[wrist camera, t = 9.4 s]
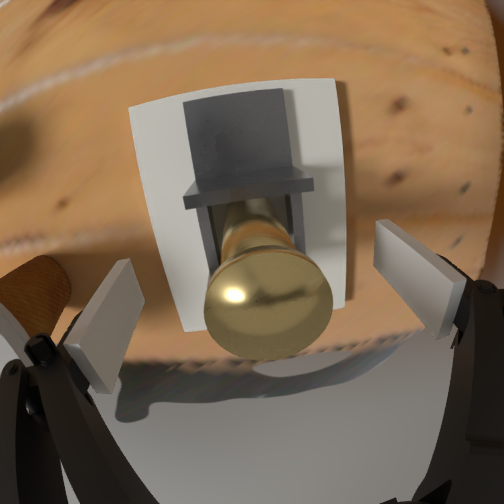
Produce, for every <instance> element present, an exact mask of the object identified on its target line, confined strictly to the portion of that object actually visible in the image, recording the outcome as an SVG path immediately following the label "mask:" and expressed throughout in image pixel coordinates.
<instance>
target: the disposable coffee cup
mask: <svg viewBox="0 0 504 504" xmlns="http://www.w3.org/2000/svg"><path fill="white" fill-rule="evenodd" d="M70 295H71V287H70V283H69V280H68V277H67V275H66V273H65V272H64V270H63V269H62V268H61V267H60V266H59V264H58V263H56V262H55V261H54V260H52V259H51V258H49V257H46V256H37V257H35V258H33V259H32V260H30V261H28V262H26V263H25V264H23V265H21V266H20V267H18V268H16V269H14V270H13V271H11V272H10V273H8V274H7V275H5V276H3V277H2V278H0V377H1V372H2V370H3V368H4V366H5V364H6V363H8V362H9V361H11V360H13V359H20V360H21V361H22V362H23V364H24V365H25V367H29V366H33V363H32V362H31V360H30V359H29V357H28V356H27V355H26V353H25V352H24V346H25V344H26V343H27V341H28V340H29V339H30V338H31V337H33V336H34V335H36V334H39V333H43V332H45V333H48V334H49V336H51V334H52V332H53V330H54V328H55V326H56V324H57V322H58V320H59V317H60V316H61V313H62V312H63V310H64V308H65V306H66V304H67V302H68V301H69V298H70Z"/></svg>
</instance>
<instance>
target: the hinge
mask: <svg viewBox="0 0 504 504" xmlns="http://www.w3.org/2000/svg"><path fill="white" fill-rule="evenodd" d="M183 108H184V115H185V121H186V128H187V134H188V140H189V146H190V152H191V157H192V163H193V169H194V174H195V181H194V182H193V183H192V185H191V186H190V187H189V189H188V190H187V191H186V193H185V194H184V195H183V201H184V206H185V210H189V209H194V208H196V212H197V217H198V222H199V227H200V232H201V236H202V241H203V246H204V250H205V255H206V259H207V264H208V268H209V276H208V283H209V281H210V279H211V277H212V276H213V274H214V273H215V271H216V270H217V269H218V268H219V267H220V265H221V255H220V250H219V245H218V240H217V235H216V229H215V224H214V219H213V214H212V208H211V206H212V205H218V204H224V203H230V202H237V201H243V200H250V199H257V198H264V197H271V196H279V195H285V202H286V212H287V222H288V233H289V237H290V238H291V240H292V242H293V244H294V246H295V248H296V250H298V251H300V252H302V253H304V254H305V255H306V247H305V232H304V218H303V205H302V192H310V191H314V180H313V177H312V176H310V175H308V174H307V173H305V172H303V171H301V170H300V169H298V168H296V167H294V166H293V165H292V156H291V147H290V139H289V131H288V123H287V115H286V108H285V100H284V93H283V88H276V89H264V90H255V91H246V92H238V93H231V94H224V95H218V96H212V97H206V98H201V99H196V100H191V101H186V102H183ZM208 283H207V286H208Z"/></svg>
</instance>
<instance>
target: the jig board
mask: <svg viewBox="0 0 504 504" xmlns="http://www.w3.org/2000/svg"><path fill="white" fill-rule="evenodd" d="M276 88H283V93H284V100H285V108H286V115H287V123H288V131H289V139H290V147H291V156H292V165H293V166H294V167H296V168H298V169H300V170H301V171H303V172H305V173H307V174H308V175H310V176H312V177H313V180H314V191H310V192H302V205H303V218H304V232H305V247H306V255H307V256H308V257H310V258H311V259H312V260H313V261H314V262H315V263H316V264H317V265H318V266H319V268H320V269H321V271H322V273H323V274H324V276H325V278H326V279H327V281H328V283H329V285H330V287H331V290H332V294H333V310H334V309H339V308H344V307H345V287H346V194H345V174H344V159H343V146H342V135H341V125H340V116H339V107H338V99H337V92H336V85H335V78H310V79H285V80H271V81H260V82H250V83H242V84H234V85H227V86H221V87H215V88H209V89H203V90H198V91H193V92H188V93H183V94H179V95H174V96H170V97H166V98H162V99H158V100H154V101H150V102H147V103H143V104H139V105H136V106H133V107H129V115H130V122H131V128H132V134H133V140H134V145H135V151H136V156H137V161H138V166H139V171H140V176H141V180H142V185H143V190H144V194H145V198H146V203H147V207H148V211H149V215H150V219H151V223H152V227H153V231H154V235H155V238H156V242H157V246H158V249H159V253H160V256H161V260H162V263H163V267H164V270H165V273H166V277H167V280H168V283H169V286H170V290H171V293H172V296H173V299H174V302H175V305H176V308H177V311H178V314H179V317H180V320H181V323H182V326H183V328H184V331H185V332H190V331H200V330H208V329H207V327H206V324H205V320H204V302H205V295H206V290H207V283H208V276H209V268H208V264H207V259H206V255H205V250H204V246H203V241H202V236H201V232H200V227H199V222H198V217H197V212H196V208H194V209H189V210H185V206H184V201H183V195H184V194H185V193H186V191H187V190H188V189H189V187H190V186H191V185H192V183H193V182H194V181H195V174H194V169H193V163H192V157H191V152H190V146H189V140H188V134H187V128H186V121H185V115H184V108H183V102H186V101H191V100H196V99H201V98H206V97H212V96H218V95H224V94H231V93H238V92H246V91H255V90H264V89H276ZM266 198H267V199H268V200H269V201H270V202H271V204H272V205H273V207H274V209H275V211H276V213H277V214H278V216H279V218H280V220H281V222H282V224H283V225H284V227H285V229H286V231H287V233H288V222H287V212H286V202H285V195H279V196H271V197H266ZM228 205H229V203H224V204H218V205H212V206H211V208H212V214H213V219H214V224H215V229H216V235H217V240H218V245H219V250H220V255H221V253H222V242H223V231H224V220H225V212H226V209H227V207H228ZM288 235H289V233H288Z"/></svg>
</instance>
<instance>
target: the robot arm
mask: <svg viewBox="0 0 504 504" xmlns="http://www.w3.org/2000/svg"><path fill="white" fill-rule="evenodd" d="M373 266H374V267H375V268H376V269H377V270H378V271H379V273H380V274H381V275H382V276H383V277H384V278H385V279H386V280H387V281H388V283H389V284H390V285H391V286H392V287H393V288H394V289H395V291H396V292H397V293H398V294H399V295H400V296H401V298H402V299H403V300H404V301H405V302H406V303H407V305H408V306H409V307H410V308H411V309H412V311H413V312H414V313H415V314H416V315H417V317H418V318H419V319H420V320H421V322H422V323H423V324H424V325H425V326H426V328H427V329H428V330H429V331H430V333H431V334H432V335H433V337H434V338H435V339H436V340H438V339H440V338H443V337H445V336H448V335H449V334H450V331H451V329H452V326H453V323H454V324H455V326H456V327H457V328H458V330H457V333H456V335H455V338H454V340H453V343H452V345H451V349H453V346H454V345H455V347H454V357H453V366H452V373H451V380H450V387H449V392H448V397H447V402H446V407H445V412H444V416H443V421H442V425H441V429H440V432H439V436H438V440H437V443H436V447H435V450H434V453H433V456H432V460H431V462H430V466H429V468H428V471H427V474H426V476H425V478H424V479H423V481H422V482H421V484H420V485H419V487H418V489H417V490H416V492H415V494H414V496H413V498H412V501H403V502H397V500H396V498H393V499H391V500H388V501H386V502H383V503H380V504H504V289H497V287H496V286H495V285H494V284H492V283H491V282H489V281H486V280H475V281H474V280H472V279H471V278H470V277H469V276H468V275H466V274H465V273H464V272H463V271H462V270H460V269H459V268H457V266H455V265H454V264H452V262H450V261H449V260H448V259H446V258H445V257H443V256H441V255H438V254H435V253H434V252H433V251H431V250H430V249H429V248H427V247H426V246H425V245H423V244H422V243H421V242H419V241H418V240H417V239H415V238H414V237H413V236H411V235H410V234H408V233H407V232H406V231H404V230H403V229H401V228H400V227H399V226H397V225H396V224H394V223H393V222H391V221H390V220H388V219H382V220H376V224H375V246H374V262H373ZM144 304H145V299H144V296H143V294H142V291H141V288H140V286H139V283H138V280H137V277H136V274H135V272H134V269H133V266H132V263H131V260H130V258H128V259H122V260H118V261H117V262H116V263H115V265H114V266H113V267H112V269H111V270H110V272H109V273H108V275H107V276H106V277H105V279H104V280H103V282H102V283H101V285H100V286H99V288H98V289H97V290H96V292H95V293H94V295H93V296H92V298H91V300H90V301H89V303H88V304H87V306H86V307H85V309H84V310H82V311H81V312H80V313H79V314H77V315H76V316H75V317H74V319H73V321H72V322H71V324H70V326H69V327H68V329H67V331H66V332H65V333H64V335H63V337H62V338H61V340H60V342H59V343H58V345H57V347H56V345H55V344H54V342H53V341H52V339H51V337H50V336H49V334H48V333H45V332H43V333H39V334H36V335H34V336H33V337H31V338H30V339H29V340H28V341H27V343H26V344H25V346H24V352H25V353H26V355H27V356H28V357H29V359H30V360H31V362H32V363H33V366H29V367H25V365H24V364H23V362H22V361H21V360H20V359H13V360H11V361H9V362H8V363H6V364H5V366H4V368H3V370H2V372H1V377H0V504H68V500H67V495H66V491H65V486H64V481H63V476H62V470H61V463H60V460H61V462H62V465H63V468H64V470H65V472H66V475H67V477H68V479H69V482H70V484H71V486H72V488H73V490H74V492H75V494H76V496H77V498H78V500H79V502H80V504H159V503H158V502H157V500H156V499H155V498H154V497H153V495H152V494H151V493H150V492H149V490H148V489H147V488H146V486H145V485H144V483H143V482H142V481H141V479H140V478H139V477H138V475H137V474H136V473H135V471H134V470H133V468H132V467H131V465H130V464H129V462H128V461H127V459H126V457H125V456H124V454H123V453H122V451H121V450H120V448H119V446H118V445H117V443H116V442H115V440H114V438H113V436H112V435H111V433H110V431H109V429H108V428H107V426H106V424H105V422H104V421H103V419H102V417H101V415H100V413H99V411H98V409H97V407H96V405H95V403H94V401H93V399H92V397H91V395H90V394H89V393H88V391H87V389H88V387H89V385H91V386H92V388H93V389H94V390H95V392H96V393H103V394H112V392H113V389H114V386H115V383H116V380H117V377H118V374H119V371H120V368H121V365H122V362H123V359H124V356H125V353H126V351H127V348H128V345H129V342H130V340H131V337H132V334H133V332H134V329H135V326H136V324H137V321H138V319H139V316H140V314H141V311H142V309H143V306H144ZM26 407H27V408H28V409H29V414H28V411H27V409H26Z"/></svg>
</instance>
